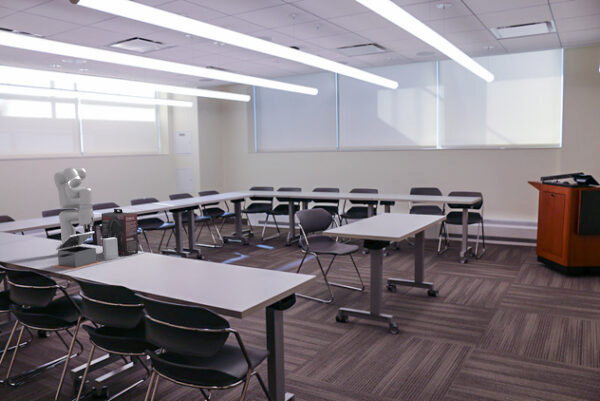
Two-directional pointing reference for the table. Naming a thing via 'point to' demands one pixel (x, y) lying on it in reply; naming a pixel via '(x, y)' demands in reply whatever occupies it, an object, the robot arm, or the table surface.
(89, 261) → the gray storage bin
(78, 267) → the trivet mat
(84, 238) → the lid
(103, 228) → the headset box
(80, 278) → the table surface
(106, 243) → the skincare box
